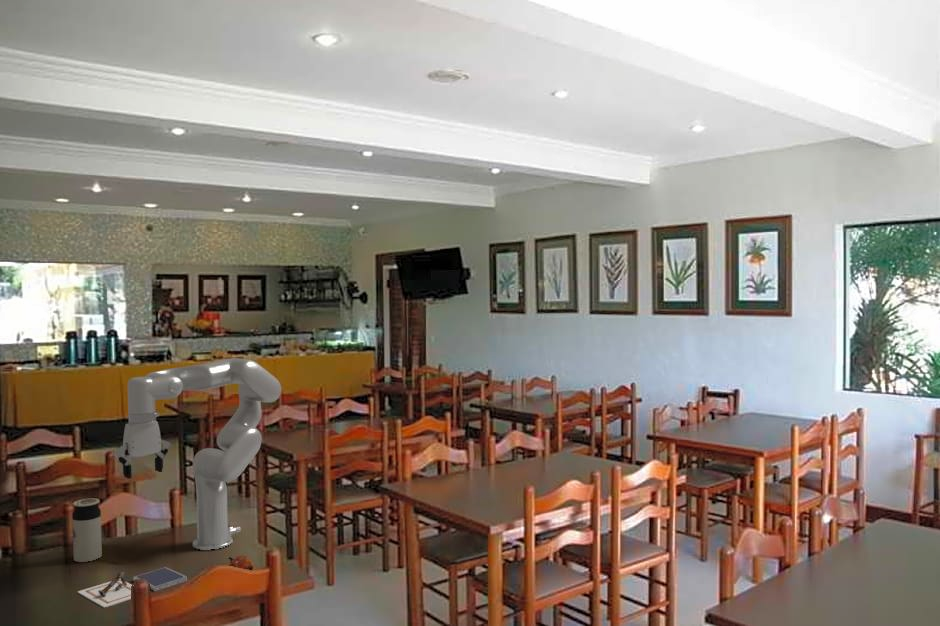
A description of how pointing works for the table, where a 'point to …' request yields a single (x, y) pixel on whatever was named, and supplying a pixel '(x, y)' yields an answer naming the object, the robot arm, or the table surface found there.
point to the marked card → (108, 594)
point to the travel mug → (87, 530)
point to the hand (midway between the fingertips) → (143, 474)
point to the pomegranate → (241, 562)
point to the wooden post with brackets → (112, 583)
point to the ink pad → (162, 578)
